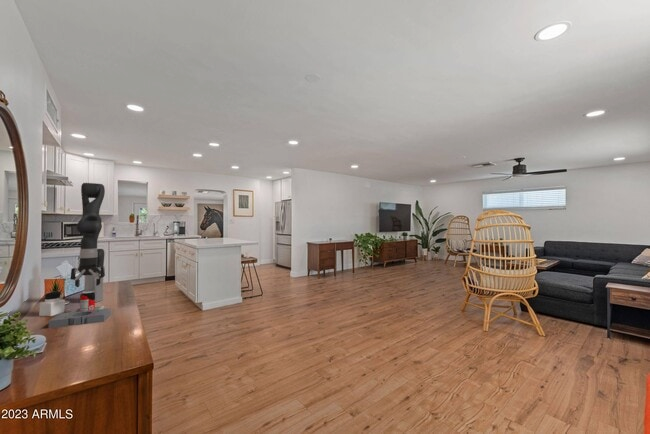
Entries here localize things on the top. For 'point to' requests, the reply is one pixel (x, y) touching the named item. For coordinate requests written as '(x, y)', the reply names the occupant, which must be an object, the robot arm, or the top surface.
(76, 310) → the tray frame
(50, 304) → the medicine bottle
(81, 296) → the beverage can
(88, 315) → the socket plate
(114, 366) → the top surface
